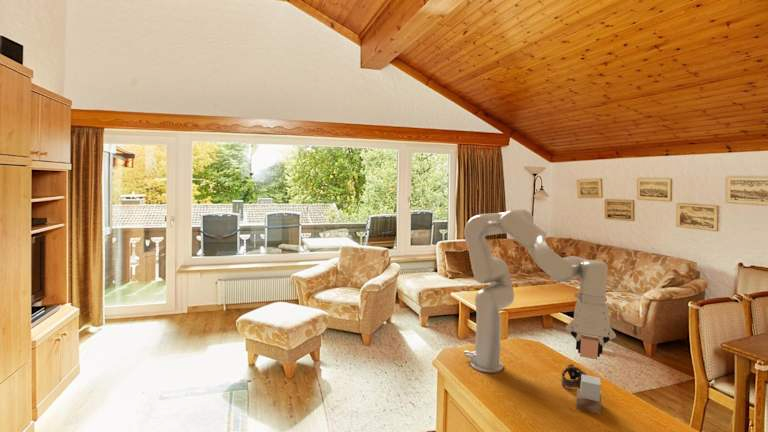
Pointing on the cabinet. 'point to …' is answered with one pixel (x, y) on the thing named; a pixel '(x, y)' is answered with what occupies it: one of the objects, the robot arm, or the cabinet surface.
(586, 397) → the greyblue cube
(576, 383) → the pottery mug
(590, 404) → the tan cardboard-coloured box
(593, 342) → the terracotta block
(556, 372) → the cabinet surface
